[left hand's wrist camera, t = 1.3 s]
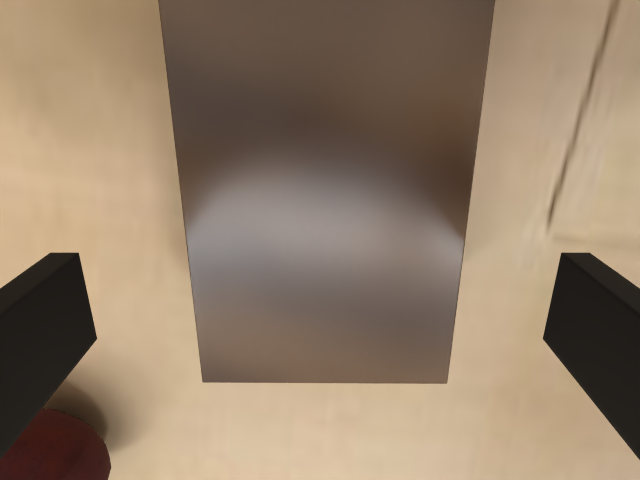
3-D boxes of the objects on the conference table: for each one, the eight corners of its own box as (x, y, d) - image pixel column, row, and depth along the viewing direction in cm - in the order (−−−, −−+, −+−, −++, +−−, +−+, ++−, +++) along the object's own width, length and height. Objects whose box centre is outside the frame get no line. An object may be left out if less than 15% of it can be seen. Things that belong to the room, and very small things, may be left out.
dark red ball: (-5, 374, 27) (-113, 477, 20) (129, 390, 27) (66, 496, 20) (8, 467, 29) (-83, 584, 23) (130, 481, 30) (74, 600, 23)
